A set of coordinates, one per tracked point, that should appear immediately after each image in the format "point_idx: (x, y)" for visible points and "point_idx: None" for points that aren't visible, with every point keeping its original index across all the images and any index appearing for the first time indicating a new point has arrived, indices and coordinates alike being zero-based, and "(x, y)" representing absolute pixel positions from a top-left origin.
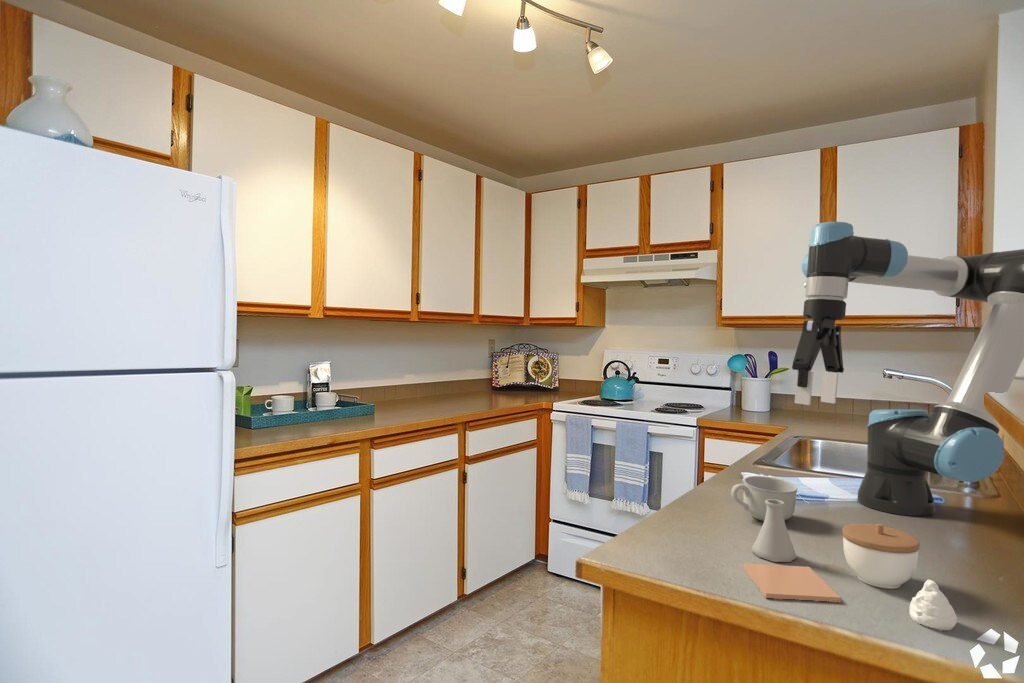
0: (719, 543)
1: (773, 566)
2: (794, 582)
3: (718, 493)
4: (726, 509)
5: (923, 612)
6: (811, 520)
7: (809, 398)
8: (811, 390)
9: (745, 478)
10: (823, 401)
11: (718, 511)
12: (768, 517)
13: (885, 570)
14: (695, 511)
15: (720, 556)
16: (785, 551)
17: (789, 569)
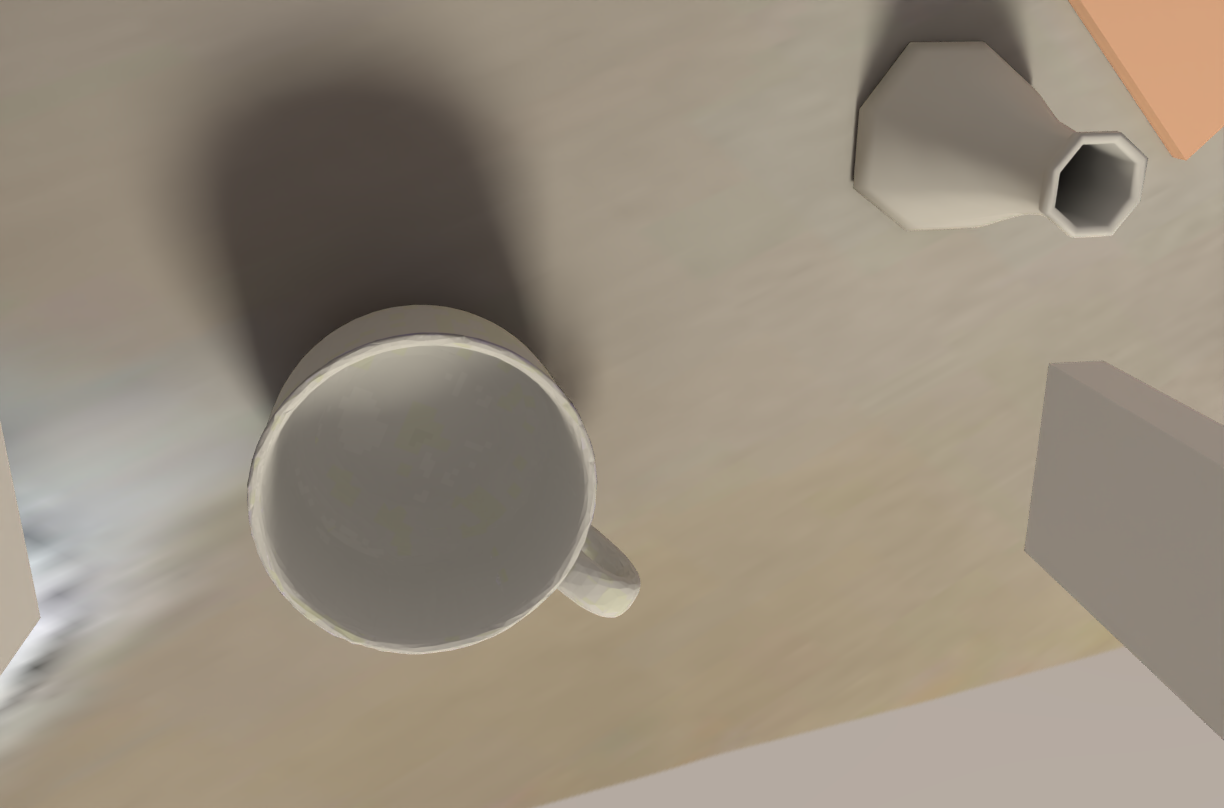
0: (970, 368)
1: (1136, 53)
2: None
3: (235, 794)
4: None
5: None
6: (236, 246)
7: (1161, 392)
8: (1192, 443)
9: (468, 642)
10: (24, 582)
11: (544, 617)
12: (1080, 186)
13: None
14: (640, 674)
15: (1109, 284)
16: (1008, 68)
17: None
